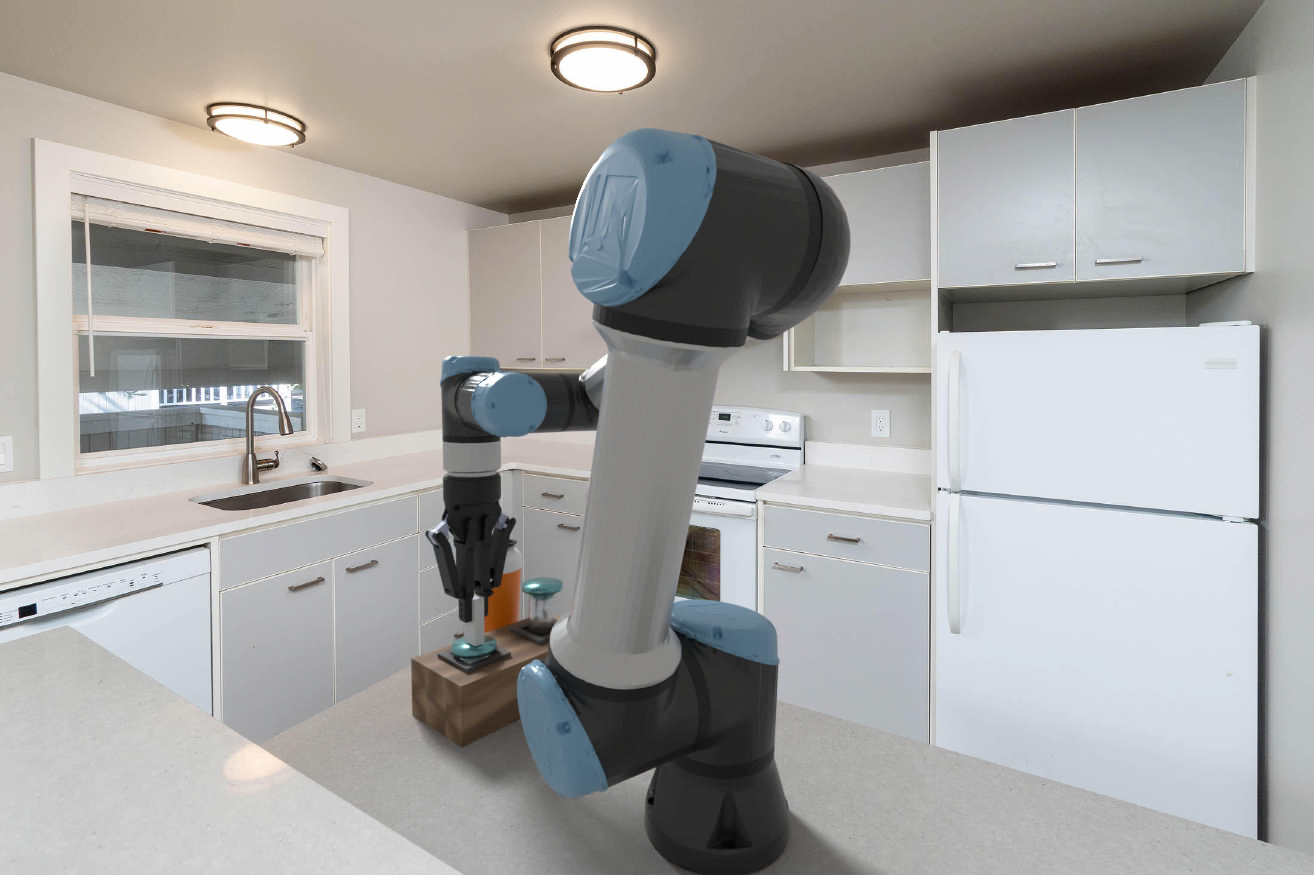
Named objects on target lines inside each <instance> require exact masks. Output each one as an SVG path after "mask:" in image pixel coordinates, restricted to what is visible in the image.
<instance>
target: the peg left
mask: <svg viewBox="0 0 1314 875" xmlns="http://www.w3.org/2000/svg"><path fill="white" fill-rule="evenodd" d="M451 644H452V645H451ZM451 644H450V645H451V652H452V654H453V655H454V656H456V657H458V658H459V659H461V660H463V661H465V662H467V663H469V664H470V663H473V662H475V661H478V660H481V659H483V658H486V657H488V656H489V655H490V654H492V653H493V652H495V650H496V649H497V641H496V639H495V638H493V637H491V636H486V635H484V643H483V644H480V645H478V646H473V645H471V644H469V643H467V642H465V641H464V636H463V637H460V638H458V639H456V640H454V641H453V642H452V643H451Z"/></svg>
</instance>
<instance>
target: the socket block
mask: <svg viewBox="0 0 1314 875" xmlns="http://www.w3.org/2000/svg"><path fill="white" fill-rule="evenodd" d="M560 617H562V615H558V614H556V622H557V621H558V619H559V618H560ZM484 635H486V636H491V637H493V638H495V639H496V641H497V649H496V650H495V652H493V653H492V654H490V655H489V656H488V657H486V658H483V659H481V660H478V661H475V662H473V663H470V664H469V663H467V662H465V661H463V660H461V659H459V658H458V657H456V656H454V655H453V654H452V652H451V645H452V643H451V644H448V645H445V646H443V647H440V648H437V649H435V650H431V651H428V652H425V653H423V654H419V655H417V656H414V657H411V658H410V663H411V664H410V672H411V710H412V716H415V717H416V718H417V719H419V720H421V722H423V723H424V724H426V725H428V726H429V727H431V728H432V729H433V730H435V731H437V732H438V733H440V734H441V735H442V736H444V737H445V738H447V739H448V740H450V741H451V742H453V743H454V744H456V745H457V746H459V747H461V748H463V747H465V746H468V745H469V744H470V745H471V744H472V743H473V742H476V741H479V740H480V739H482V738H484V737H486V736H487V735H488V736H489V735H490V734H493V733H495V732H496V731H499V730H500V729H502V728H504V727H507V726H509V725H510V724H513V723H515V722H516V721H519V720H521V718H520V713H519V707H518V699H517V681H518V676H519V673H520V671H521V669H522V668H523V667H525V666H526V665H528V664H530V663H532V661H533V660H543V659H546V658H547V656H548V649H549V642H550V635H551V633H549V634H547V635H544V636H541V637H539V636H537V635H535V634H532V633H530V632H529V617H527V618H524V619H522V620H519V621H518V622H515V623H512V624H509V625H506V626H503V627H501V628H498V629H495V630H492V631H489V632H486V633H484Z"/></svg>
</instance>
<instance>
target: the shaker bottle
mask: <svg viewBox="0 0 1314 875" xmlns="http://www.w3.org/2000/svg"><path fill="white" fill-rule="evenodd" d="M517 543H518V540H517V539H514V538H510V539H509V544H508V549H507V555H506V560H505V565H504V570H503V576H502V581H501V585H500V586H499V587H495V588H493V589H492V591H494V593H493V595H492V596H490V597H488V615H487V616H486V617H484V633H486V632H489V631H492V630H495V629H498V628H501V627H503V626H506V625H509V624H512V623H515V622H518V621H520V602H521V601H520V600H521V582H522V581H521V577H522V568H523V567H524V566H523V554H522V553H521V551H520V550H519V549H518V548H516V547H515V545H516V544H517ZM474 593H475V591H474Z"/></svg>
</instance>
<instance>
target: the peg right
mask: <svg viewBox="0 0 1314 875" xmlns="http://www.w3.org/2000/svg"><path fill="white" fill-rule="evenodd" d="M562 590H563V581H562V580H561V579H559V578H555V577H549V576H548V577H546V576H545V577H534V578H528V579H527V580H524V581H523V582H522V584H521V591H522V592H523V593H524V594H526V595H528V618H529V632H530V633H532V634H535V635H537V636H539V637H541V636H544V635H547V634H549V633H551V631H552V628H553V626H554V624H555V623H556V615H557V614H556V613H557V601H556V599H557V594H558V593H560V592H562Z"/></svg>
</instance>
